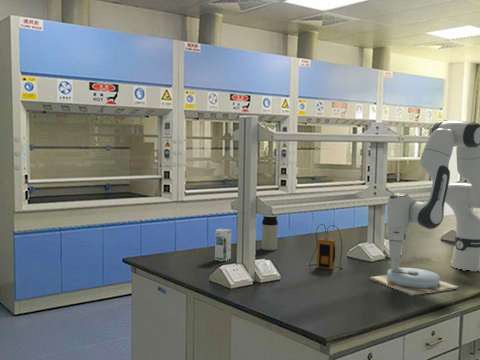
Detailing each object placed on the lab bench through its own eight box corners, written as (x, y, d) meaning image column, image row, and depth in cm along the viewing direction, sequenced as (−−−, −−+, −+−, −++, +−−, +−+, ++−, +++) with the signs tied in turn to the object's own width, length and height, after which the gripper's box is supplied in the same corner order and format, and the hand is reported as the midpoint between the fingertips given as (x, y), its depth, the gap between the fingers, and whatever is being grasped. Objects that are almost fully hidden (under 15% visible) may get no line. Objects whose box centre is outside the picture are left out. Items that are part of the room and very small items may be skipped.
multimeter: (347, 266, 231) (348, 223, 229) (339, 271, 222) (341, 226, 220) (316, 262, 238) (318, 220, 236) (308, 266, 230) (310, 222, 228)
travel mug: (273, 251, 258) (274, 216, 257) (259, 249, 262) (260, 215, 260) (279, 248, 265) (280, 214, 264) (265, 246, 269) (266, 213, 267)
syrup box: (214, 260, 237) (214, 229, 236) (220, 257, 242) (221, 228, 241) (225, 262, 234) (225, 231, 233) (231, 259, 240) (231, 229, 238)
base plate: (413, 273, 220) (413, 270, 220) (458, 289, 199) (458, 285, 199) (369, 279, 210) (369, 275, 210) (411, 296, 189) (412, 292, 188)
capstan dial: (439, 277, 210) (440, 256, 209) (438, 290, 191) (440, 268, 191) (389, 271, 217) (390, 251, 217) (384, 283, 199) (385, 262, 198)
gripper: (391, 227, 219) (390, 259, 220) (387, 236, 200) (385, 270, 201) (406, 228, 217) (405, 260, 218) (403, 237, 198) (402, 272, 199)
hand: (396, 265), depth 210 cm, fingers closed
